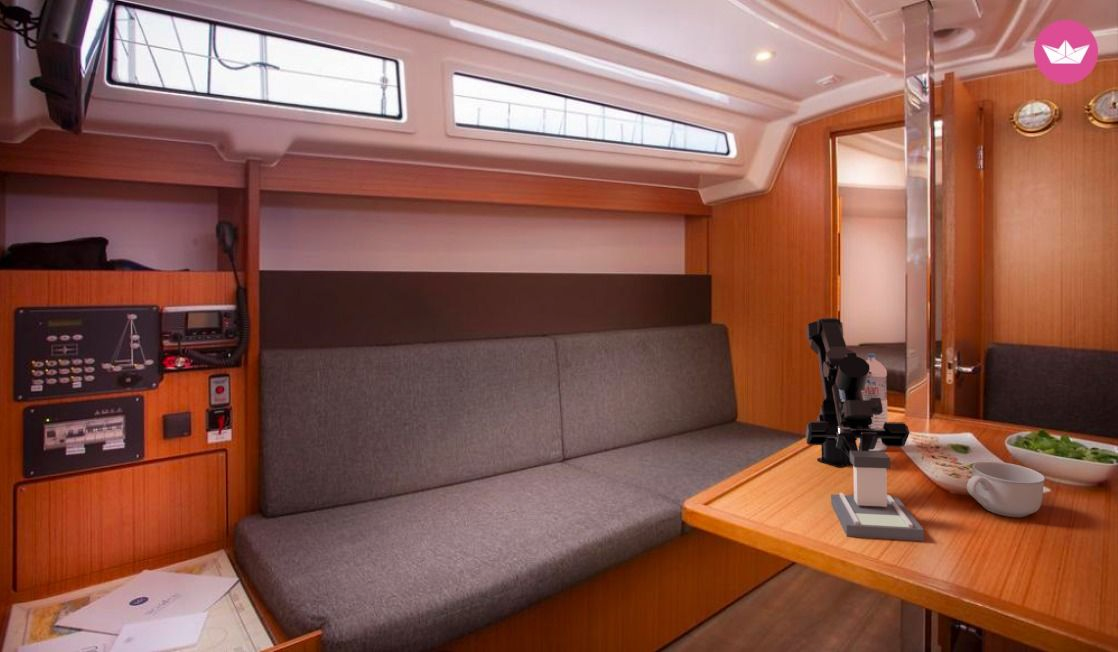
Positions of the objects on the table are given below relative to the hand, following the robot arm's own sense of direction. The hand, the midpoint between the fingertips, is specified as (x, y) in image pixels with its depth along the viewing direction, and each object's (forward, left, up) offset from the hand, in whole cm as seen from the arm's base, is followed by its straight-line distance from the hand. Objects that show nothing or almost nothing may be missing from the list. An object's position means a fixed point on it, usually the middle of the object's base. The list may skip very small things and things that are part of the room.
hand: (862, 471), depth 114 cm
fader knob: (+4, -4, -4) cm, 7 cm away
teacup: (+15, +18, -7) cm, 24 cm away
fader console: (+6, -5, -7) cm, 11 cm away
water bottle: (-24, +35, -7) cm, 43 cm away
